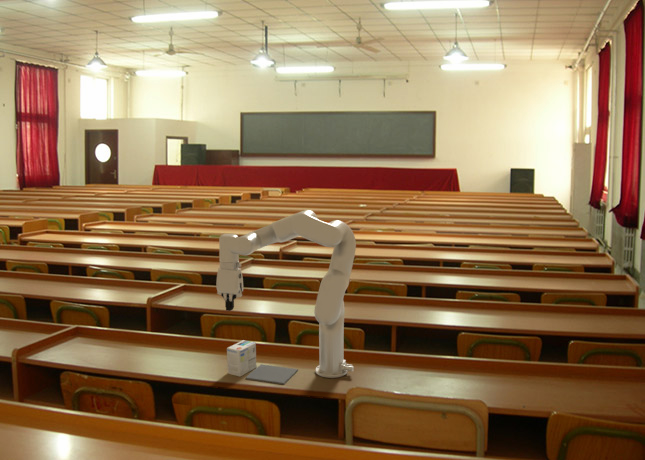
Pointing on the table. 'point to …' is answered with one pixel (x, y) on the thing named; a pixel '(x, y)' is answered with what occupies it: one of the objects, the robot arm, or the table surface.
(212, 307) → the table surface
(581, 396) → the table surface
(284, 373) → the mat
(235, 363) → the light bulb box
